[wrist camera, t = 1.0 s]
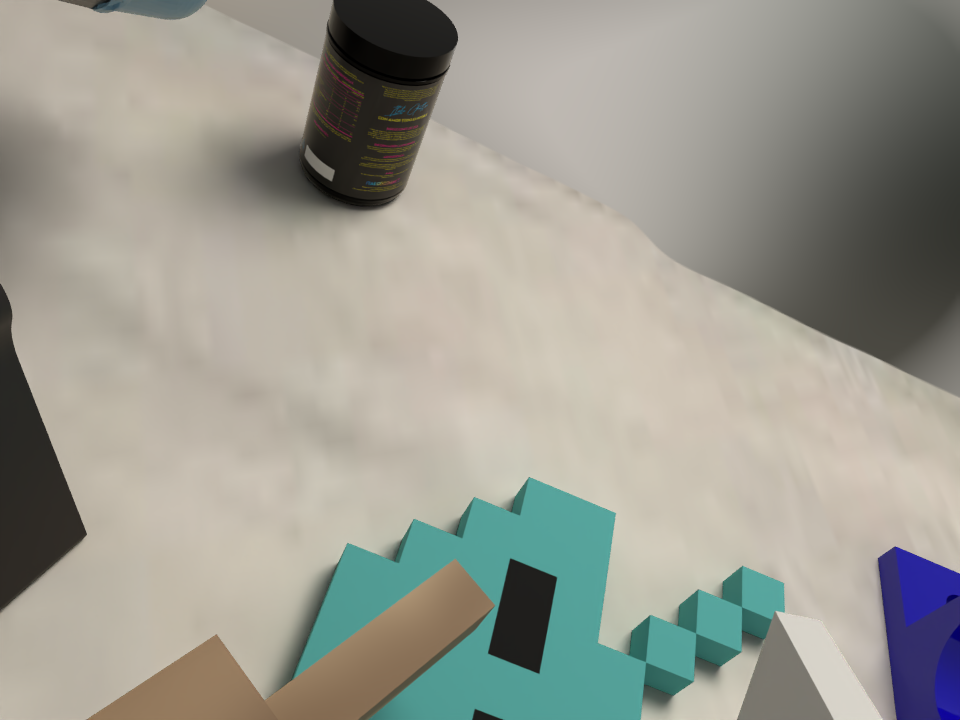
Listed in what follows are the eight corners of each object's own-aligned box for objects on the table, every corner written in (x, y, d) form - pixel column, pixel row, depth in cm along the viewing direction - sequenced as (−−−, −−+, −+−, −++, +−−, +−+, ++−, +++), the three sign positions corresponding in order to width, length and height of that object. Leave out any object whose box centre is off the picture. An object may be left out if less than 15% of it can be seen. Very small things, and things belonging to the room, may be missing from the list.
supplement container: (427, 186, 54) (482, 39, 46) (357, 227, 49) (405, 70, 42) (348, 125, 55) (389, -28, 48) (272, 159, 50) (305, -5, 43)
